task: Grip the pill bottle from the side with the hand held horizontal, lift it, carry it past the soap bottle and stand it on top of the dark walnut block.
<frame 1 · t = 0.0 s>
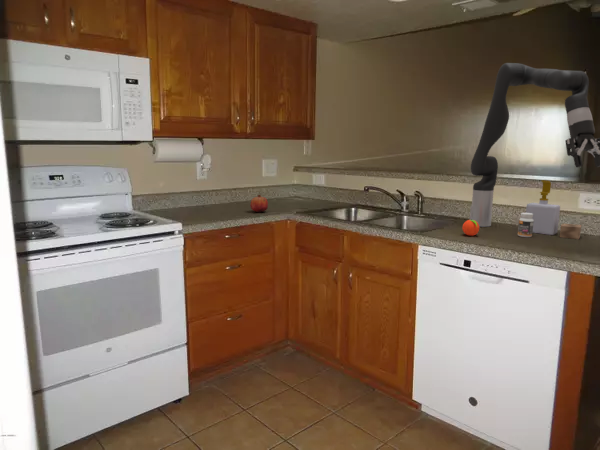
hand: (589, 166, 157), 31 cm above the worktop, tool tilted 20°, fingers open, 8 cm apart
fruit: (259, 212, 256), on the worktop
clementine: (470, 236, 193), on the worktop
soap bottle: (540, 232, 200), on the worktop
pill bottle: (524, 236, 192), on the worktop
walnut block: (569, 236, 190), on the worktop
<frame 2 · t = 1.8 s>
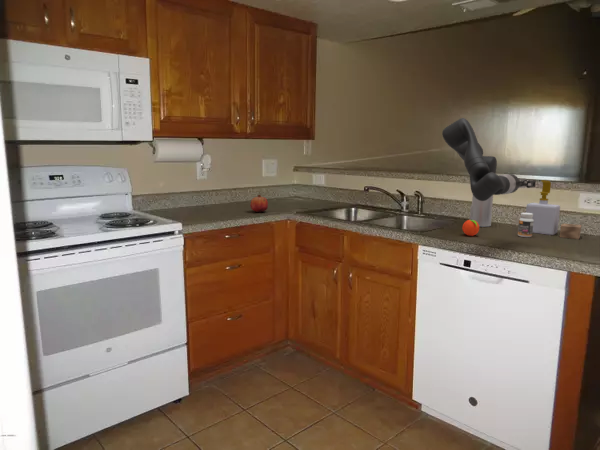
hand: (520, 181, 180), 24 cm above the worktop, tool horizontal, fingers open, 8 cm apart
nothing on the worktop moved.
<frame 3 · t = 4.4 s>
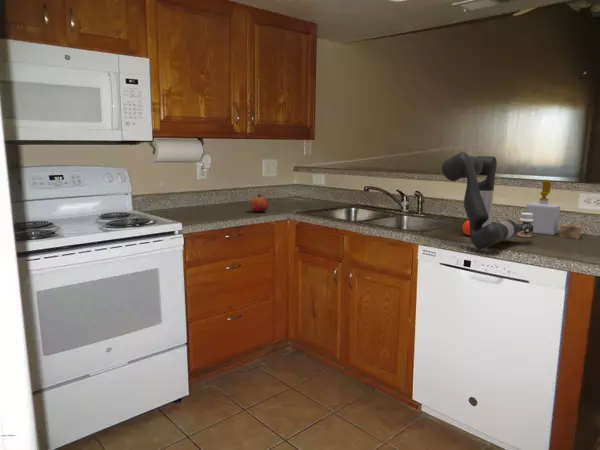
hand: (519, 224, 186), 6 cm above the worktop, tool horizontal, fingers open, 8 cm apart
nothing on the worktop moved.
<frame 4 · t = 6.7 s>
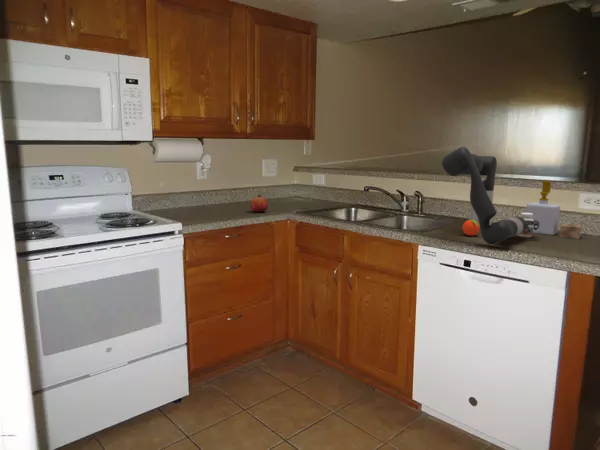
hand: (528, 221, 193), 6 cm above the worktop, tool horizontal, fingers closed on pill bottle, 5 cm apart
pill bottle: (524, 236, 192), on the worktop, touching gripper
everything else where it was.
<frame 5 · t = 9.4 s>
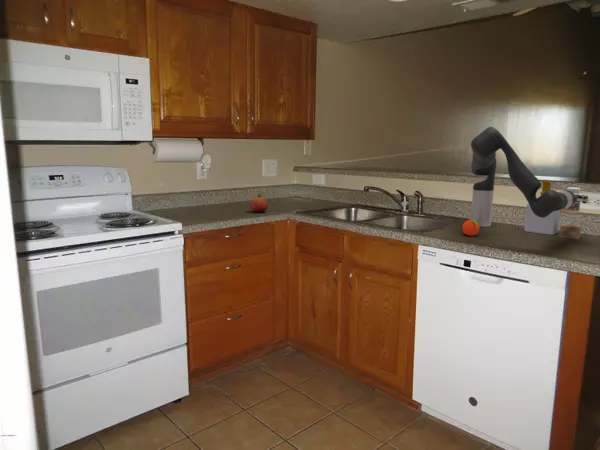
hand: (574, 196, 183), 18 cm above the worktop, tool horizontal, fingers closed on pill bottle, 5 cm apart
pill bottle: (570, 212, 183), point 11 cm above the worktop, touching gripper
everything else where it was.
when the fingers open (12 cm above the worktop, at t = 12.4 s): pill bottle stays where it is, resting on walnut block.
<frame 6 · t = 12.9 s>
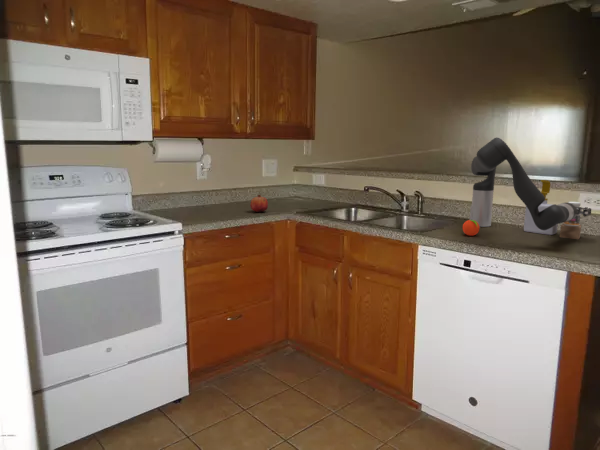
hand: (575, 208, 189), 12 cm above the worktop, tool horizontal, fingers open, 8 cm apart
soap bottle: (539, 232, 200), on the worktop, touching gripper
pill bottle: (571, 225, 189), point 5 cm above the worktop, touching walnut block
everything else where it was.
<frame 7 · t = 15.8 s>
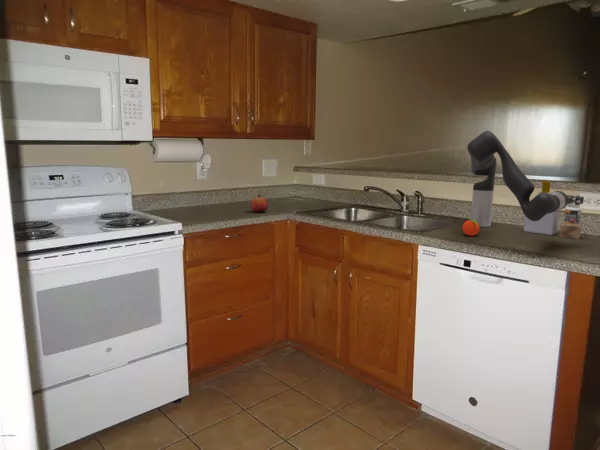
hand: (566, 197, 180), 18 cm above the worktop, tool horizontal, fingers open, 8 cm apart
soap bottle: (539, 232, 200), on the worktop
everything else where it was.
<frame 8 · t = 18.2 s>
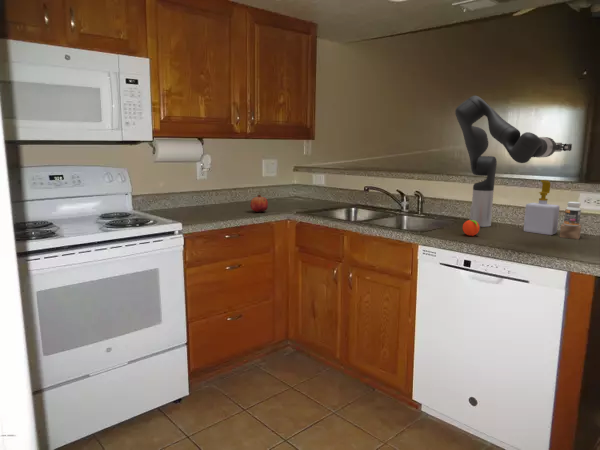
hand: (555, 146, 178), 38 cm above the worktop, tool horizontal, fingers open, 8 cm apart
nothing on the worktop moved.
at the end: pill bottle inside the target area on the walnut block (0.2 cm from its centre), point 4.8 cm above the walnut block's base; pill bottle tilted 0°; the gripper is holding nothing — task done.
